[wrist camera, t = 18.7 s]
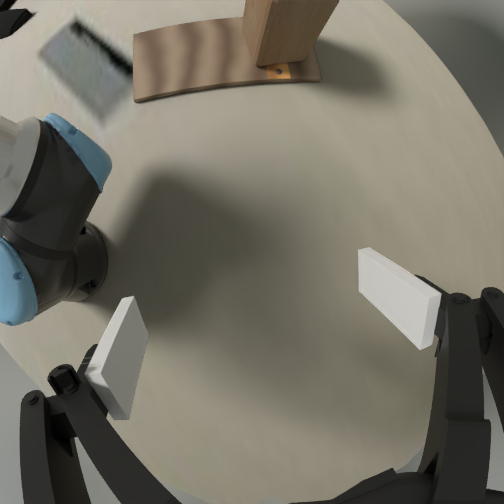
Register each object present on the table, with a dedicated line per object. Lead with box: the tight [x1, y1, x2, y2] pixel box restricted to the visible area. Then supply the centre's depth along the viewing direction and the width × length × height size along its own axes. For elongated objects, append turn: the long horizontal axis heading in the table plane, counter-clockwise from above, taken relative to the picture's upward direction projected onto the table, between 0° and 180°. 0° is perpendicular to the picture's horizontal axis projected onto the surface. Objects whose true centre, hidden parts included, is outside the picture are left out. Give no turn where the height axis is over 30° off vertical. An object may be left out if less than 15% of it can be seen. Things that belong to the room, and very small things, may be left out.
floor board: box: [133, 17, 322, 103], centre depth 43 cm, size 34×16×2 cm, turn 98°
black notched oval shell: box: [0, 0, 32, 39], centre depth 31 cm, size 25×40×5 cm, turn 68°
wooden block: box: [242, 0, 339, 66], centre depth 34 cm, size 10×10×20 cm
